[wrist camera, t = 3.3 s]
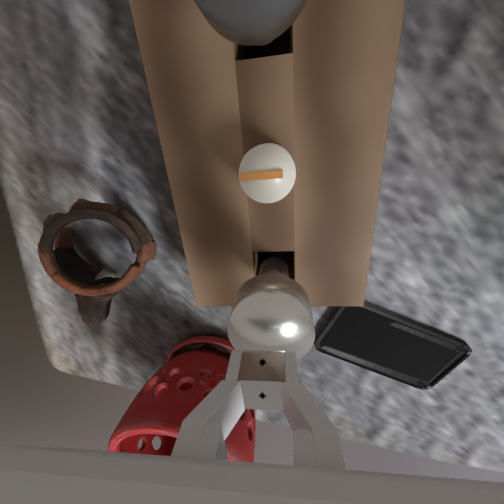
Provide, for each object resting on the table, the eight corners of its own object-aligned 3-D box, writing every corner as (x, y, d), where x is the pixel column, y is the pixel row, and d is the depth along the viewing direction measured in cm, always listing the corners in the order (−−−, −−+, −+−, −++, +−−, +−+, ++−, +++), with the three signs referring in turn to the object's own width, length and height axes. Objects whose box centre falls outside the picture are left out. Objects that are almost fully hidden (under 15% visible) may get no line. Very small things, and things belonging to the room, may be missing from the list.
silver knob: (304, 241, 18) (316, 298, 11) (303, 294, 20) (314, 366, 13) (242, 243, 18) (221, 298, 12) (247, 294, 20) (232, 364, 14)
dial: (293, 140, 15) (295, 141, 12) (294, 192, 16) (296, 202, 14) (242, 145, 15) (235, 146, 13) (247, 195, 17) (241, 205, 14)
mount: (378, -39, 15) (421, -117, 10) (348, 274, 24) (363, 306, 19) (162, 0, 17) (117, -51, 12) (211, 276, 26) (196, 305, 21)
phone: (426, 391, 29) (311, 348, 28) (421, 383, 30) (310, 340, 29) (477, 348, 25) (347, 297, 24) (470, 340, 26) (345, 290, 25)
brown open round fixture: (54, 198, 25) (8, 196, 17) (154, 201, 28) (153, 200, 20) (68, 309, 27) (33, 350, 19) (159, 299, 30) (160, 331, 23)
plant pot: (237, 312, 28) (209, 424, 17) (275, 387, 32) (272, 512, 22) (144, 335, 31) (71, 441, 20) (191, 400, 36) (152, 514, 25)
